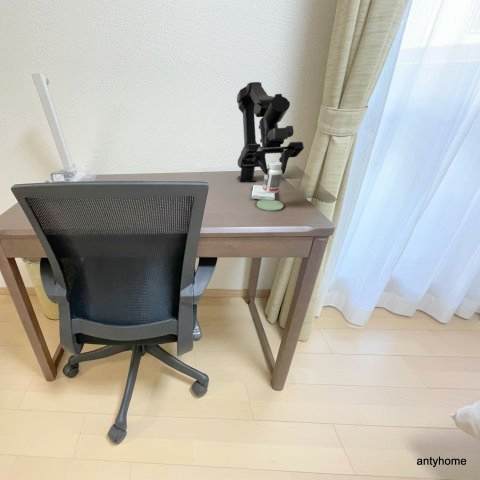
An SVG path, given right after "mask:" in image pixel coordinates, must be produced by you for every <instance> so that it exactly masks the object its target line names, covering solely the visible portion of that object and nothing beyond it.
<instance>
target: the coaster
mask: <svg viewBox="0 0 480 480" xmlns="http://www.w3.org/2000/svg"><path fill="white" fill-rule="evenodd" d="M256 207H257V208H259V209H261V210H264V211H268V212H269V211H270V212H277V211H281V210H282V209H283V208H284V204H283V202H281V201H279V200H276V199H275V200H261V199H259V200H257V202H256Z"/></svg>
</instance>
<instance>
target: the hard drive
mask: <svg viewBox="0 0 480 480" xmlns="http://www.w3.org/2000/svg"><path fill="white" fill-rule="evenodd" d="M262 188H263V184H254V185H253V186H252V193H251V199H253V200H276V193H266V192H264V191H263V190H262Z"/></svg>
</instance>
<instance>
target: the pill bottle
mask: <svg viewBox="0 0 480 480" xmlns="http://www.w3.org/2000/svg"><path fill="white" fill-rule="evenodd" d="M281 166H282V163H281V162H280V161H277V160H275V161H273V160H272V161H270V162H268V165H267V175H265V174H264V176H263V182H262V185H263V188H262V190H263V191H264V192H266V193H275V194H276V193H279V190H280V186H281V180H282V176H283V174H282V170H281Z"/></svg>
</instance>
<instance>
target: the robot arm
mask: <svg viewBox="0 0 480 480" xmlns="http://www.w3.org/2000/svg"><path fill="white" fill-rule="evenodd" d="M236 103H237V104H238V105H237V107H238V110H239V111H240V112H241V113H242V123H243V142H244V143H243V145H244V146H243V148H242V150H241V151H240V155H239V156H238V159H237V166H238V167H239V168H240V175H238V177H237V178H238V180H239V182H240V183H251V182H252V183H253V182H254V183H255V182H256V179H255V178H254V176H255V169H256V168H260V169H261V171H262V173H263V174H264V176H265V175H267V169H268V165H267V160H266V155H267V154H280V157H279V158H278V160H279V161H278V162H281V163H282V166H281V168H280V169H281V170H282V175H284V174H285V173H286V169H287V166H288V162H289V159H290V158H296V157H298V156H299V154H301V153H302V152H303V150H304V149H305V146H304V145H305V144H304V143H303V142H302V141H290V142H289V143H288V144H287V145H286V146H282V145H284V143H285V140H288V138H291V137H293V136H294V131H295V130H294V126H293V125H286V126H285V127H279V124H278V123H280V122H281V121H282V120H283V118H284V116H285V115H286V114H287V112H288V110H289V108H290V106H291V102H290V101H289V100H288V98H286V97H285V96H283V94H282V93H275V94H274V96H272V95H268V93H267V91H266V90H265V89H264V87H263V85H262V82H260V81H251V82H248V83H247V84H246V85H245V86H244V87H243V88H240V89H239V91H238V93H237V95H236ZM255 118H260V119H259V122H258V123H259V124H258V129H259V132H260V139H259V141H260V143H261V144H260V143H258V142H257V140H256V139H257V138H256V121H255Z"/></svg>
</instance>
